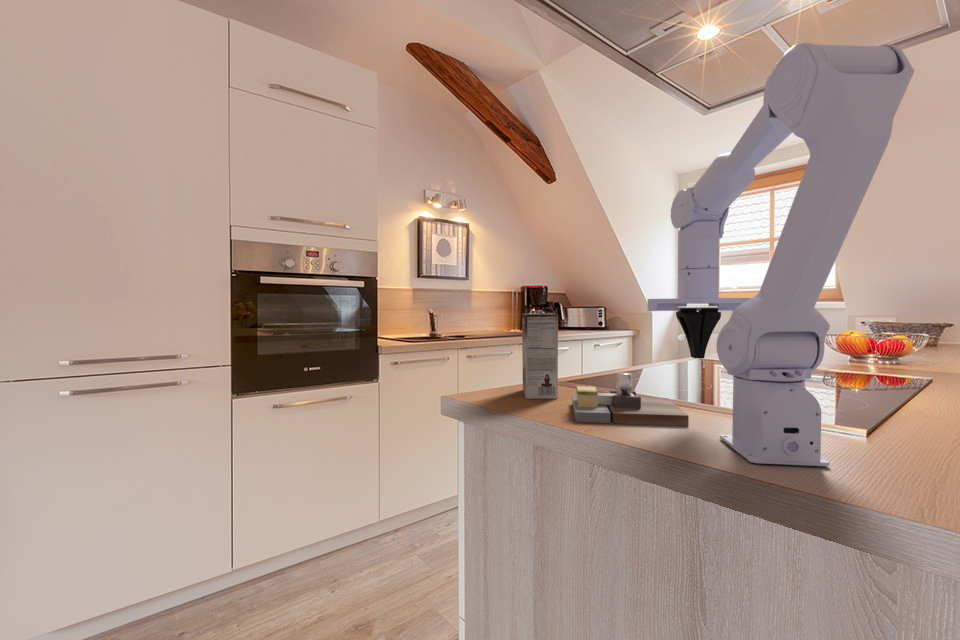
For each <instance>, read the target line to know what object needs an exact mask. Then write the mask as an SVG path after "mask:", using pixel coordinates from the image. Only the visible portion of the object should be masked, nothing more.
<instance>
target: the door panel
mask: <svg viewBox="0 0 960 640" xmlns="http://www.w3.org/2000/svg"><path fill="white" fill-rule="evenodd" d="M609 393H617V389H616V390H615V389H612V390H611V389H609ZM632 394H634V395H635V396H622V395H613V405H606V406H607V408H608V410H609V411H610V421H612V424H625V425H626V424H627V425H628V424H629V425H630V424H632V425H656V426H658V425H660V426H682V427H683V426H684V427H685V426H689V416H690V415H689V414H688V413H687V412H685V411H684V410H682V409H681V408H680V407H679V406H677V405H676V404H675V403H674V402H672V400H670V399H669V398H668V397H643V396H642V397H641V396H640V395H637V391H635V390H632Z"/></svg>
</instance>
